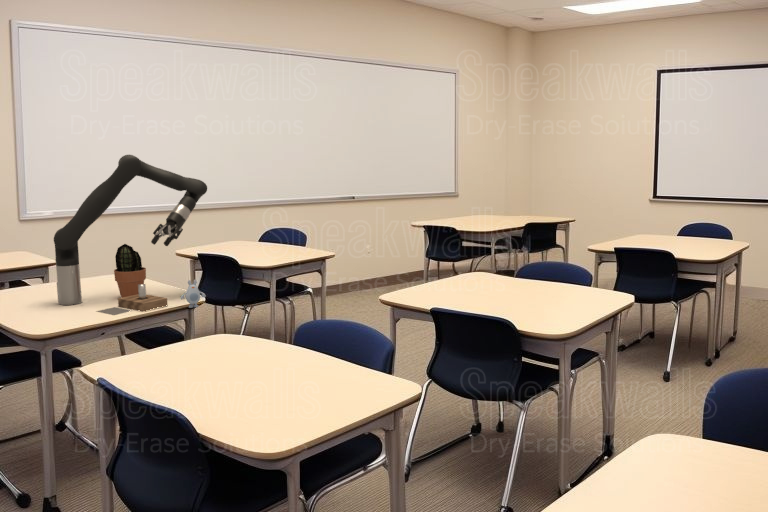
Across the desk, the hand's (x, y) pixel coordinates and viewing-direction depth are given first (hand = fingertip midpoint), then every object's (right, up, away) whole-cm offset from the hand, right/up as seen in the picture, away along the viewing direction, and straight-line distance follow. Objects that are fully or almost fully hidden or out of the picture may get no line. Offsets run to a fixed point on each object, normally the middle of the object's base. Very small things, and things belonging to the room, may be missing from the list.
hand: (159, 244), depth 304 cm
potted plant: (-16, -24, +10) cm, 31 cm away
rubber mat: (-13, -29, -18) cm, 36 cm away
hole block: (-4, -27, -10) cm, 29 cm away
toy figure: (+18, -27, -10) cm, 34 cm away
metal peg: (-4, -27, -10) cm, 29 cm away
